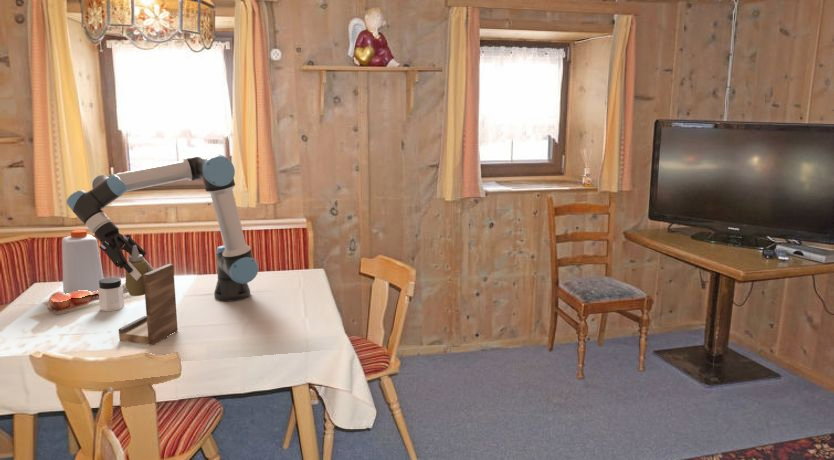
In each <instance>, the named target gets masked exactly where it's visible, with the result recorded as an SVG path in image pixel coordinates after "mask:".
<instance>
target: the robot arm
mask: <svg viewBox="0 0 834 460" xmlns="http://www.w3.org/2000/svg"><path fill="white" fill-rule="evenodd" d="M235 174H236V170H235V165H234V164H233V162H232V161H231V160H230V159H229V158H228V157H227V156H225V155H222V154H217V153H215V152H204V153H200V154H196V155H191V156H188V157H184V158H183V159H182V160H180V161H175V162H170V163H165V164H160V165H155V166H150V167H149V166H148V167H145V168H143V167H142V168H139V169H135V170H129V171H124V172H118V173H115V174H108V175H107V174H101V175H97V176H96V177H95V178H94V179H93V180H92V189H90V190H88V191H87V192H86V191H85V190H82V189H81V190H77V191H76V192H75V191H74V192H73V193H71V194H70V195H69V196H68V197H67V199H66V204H67V206H68V208H70V210H71V211H72V212H73V214H74V215H75V216H76V217H77V218H78V219H79V220H80V221H81V222H82V223H83V224H84V225H85V226H86V227H87V229H89V231H90V232H91V233H92V234H94V237H95V238H96V239H97V241H99V242H100V243H101V244H100V245H98V248H99V249H100V250H102V251H103V252H104V253H105V254H106V256H107V257H108V259H110V261H111V262H112V263H113V265H115V267H116V268H119V269H124V270H125V272H126V271H127V272H128V273H130V274H131V275H132V276H133V278H134V279H135V280H136V281H137V280H138V279H139V278H140V277H141V276H142V275H141V274H140V273H139V272H138V270H137V269H136V268H135V267H134V266H133V265H132V264H131V263H130V262H129V261H127V259H126V256H125V254H124V253H123V250H124V251H125V252H126V253H127V254H129V255H132V249H133V246H137V249H138V252H139V254H141V255H143V260H144V261H145V262H146V265H147V270H148V272H150V271H153V270H155V269H156V268H154V267H153V266H152V264H150V262H149V261H148V260H147V259H146V254H147V252H146V251H145V249H143V248H142V247H141V246H139V244H138V243H137V242H136V241H135V240H134V239H133V238H132V236H131V235H130V234H126V235H123V234H121V233H120V231H119V227H118V226H117V225H116V224H115V223H114V222H113V221H112V219H111V218H110V217H109V216H108V215H107V214H106V213H105V212H104V211H103V210H102V209H104V208H105V207H106V206H108V205H110V204H111V203H112V202H114V201H115V200H117V199H118V198H120V197H122V196H123V194H125V193H126V192H131V191H135V190H136V191H137V190H141V189H144V188H145V189H146V188H150V187H156V186H161V185H166V184H171V183H176V182H179V181H185V180H188V181H189V182H191V181H192V182H193V181H201V180H202V181H203V186H204V189H205V192H206V193H208V194H209V195H210V196H211V197H210V198H211V201H212V205H213V208H214V213H215V215H216V216H215V217H216V220H217V224H218V227H219V231H220V232H219V233H220V234H221V238H222V243H223V245H219V246H217V248H216V251H215V256H216V268H217V281H216V285H215V288H214V292H213V293H214V299H215V300H217V301H221V302H222V301H223V302H237V301H241V300H245V299H248V298H250V296H251V289H250V287H249V284H248V283H251V282H252V281H253V280H254V279H255V278H256V277H257V275H258V272H259V264H258V262H257V261H256V259H255V258H254V256H253V253H252V248H251V246H250V245H249V244H247V242H246V239H245V234H244V231H243V227H242V224H241V219H240V214H239V211H238V207H237V202H236V198H235V195H234V188H235V187H236V183H235ZM127 262H128V263H127Z"/></svg>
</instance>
